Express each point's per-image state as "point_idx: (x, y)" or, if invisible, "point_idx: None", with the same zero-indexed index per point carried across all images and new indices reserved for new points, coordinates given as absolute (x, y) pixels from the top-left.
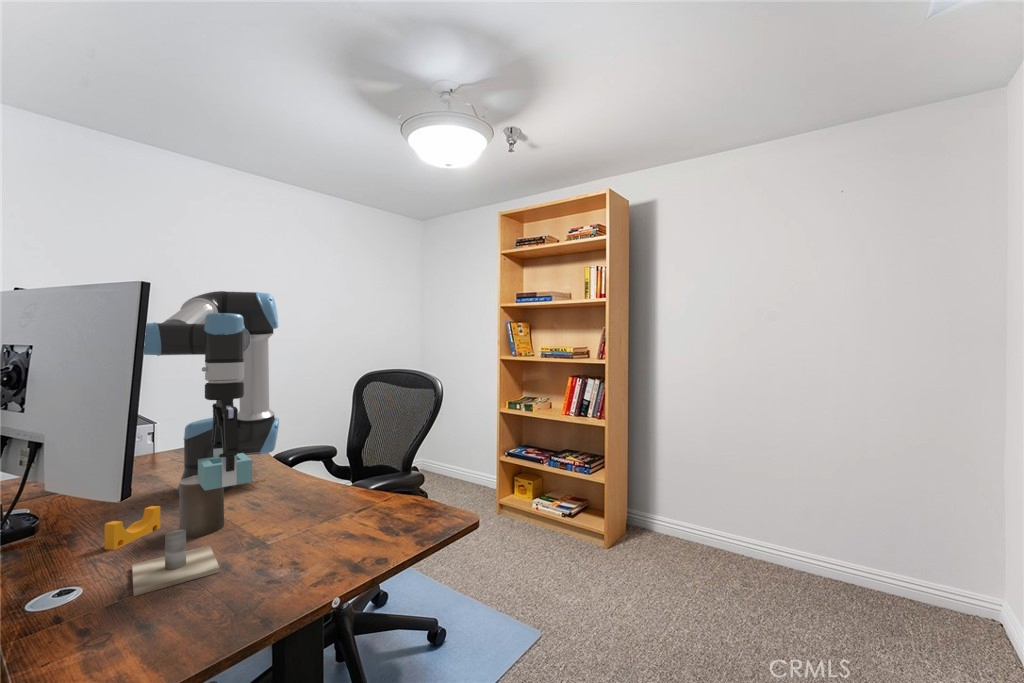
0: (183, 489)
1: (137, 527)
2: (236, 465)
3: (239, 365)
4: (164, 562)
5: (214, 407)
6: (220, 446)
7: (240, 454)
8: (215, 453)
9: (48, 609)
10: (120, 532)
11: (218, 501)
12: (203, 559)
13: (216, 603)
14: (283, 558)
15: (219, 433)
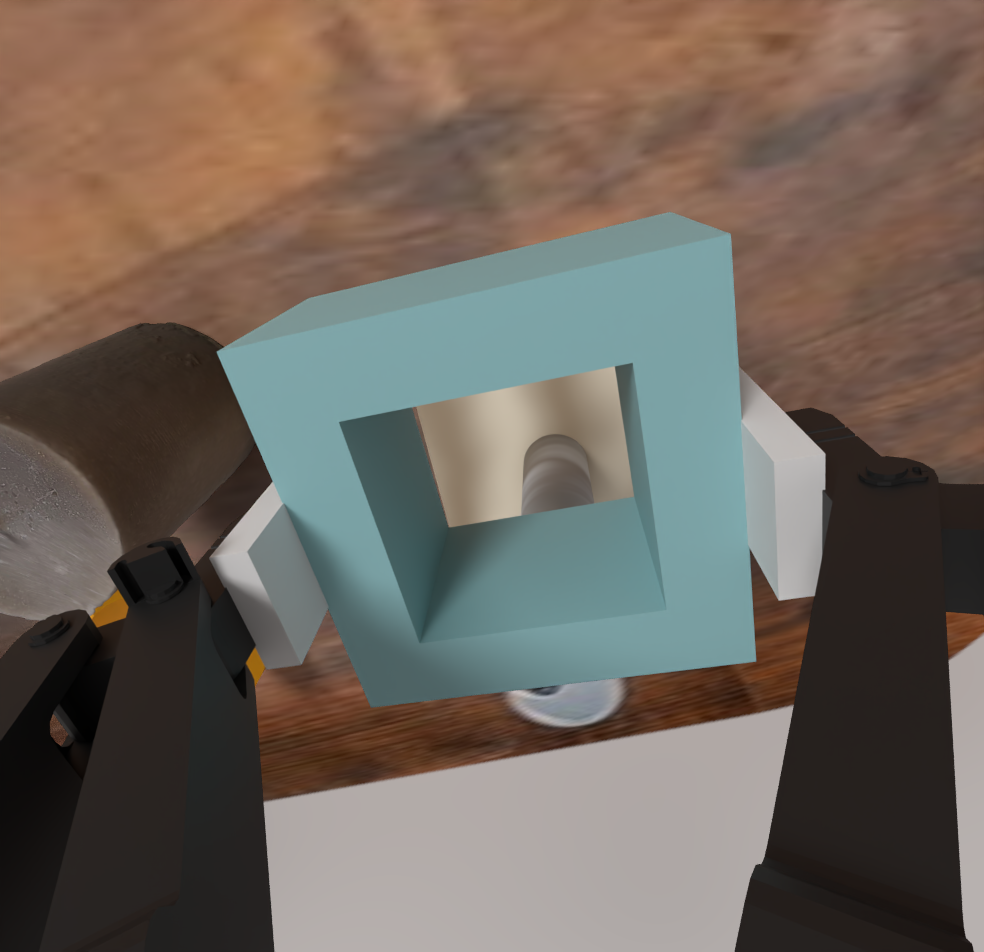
0: None
1: None
2: (773, 402)
3: None
4: (502, 498)
5: None
6: (235, 627)
7: (309, 378)
8: (311, 620)
9: (627, 687)
10: None
11: (133, 387)
12: (551, 380)
13: (939, 309)
14: (698, 28)
15: (241, 805)
